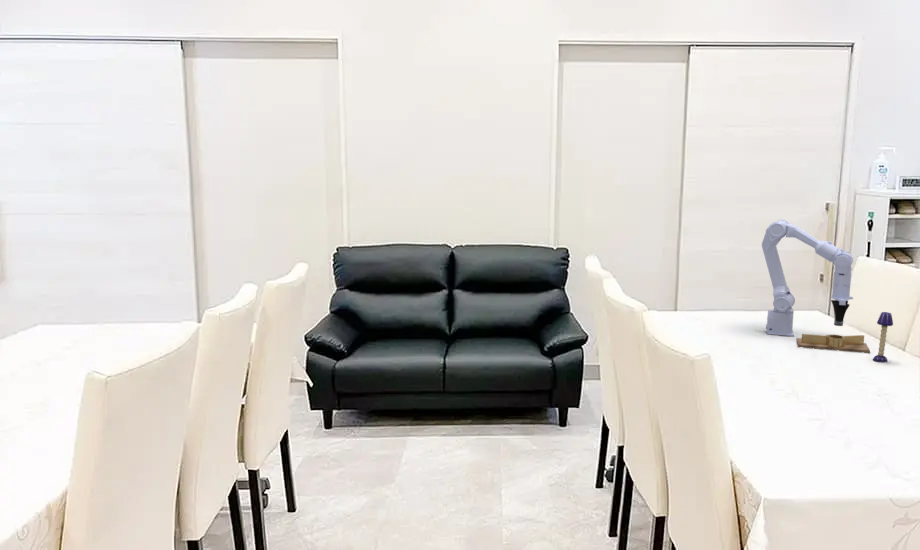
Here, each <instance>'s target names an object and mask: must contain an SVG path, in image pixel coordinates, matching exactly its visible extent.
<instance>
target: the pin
mask: <svg viewBox="0 0 920 550" xmlns="http://www.w3.org/2000/svg"><path fill="white" fill-rule="evenodd" d="M833 322H834V323H833V325H834V326H836V327H843V326H844V321H843V322H837V321H836V318H835V317H834V320H833Z"/></svg>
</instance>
